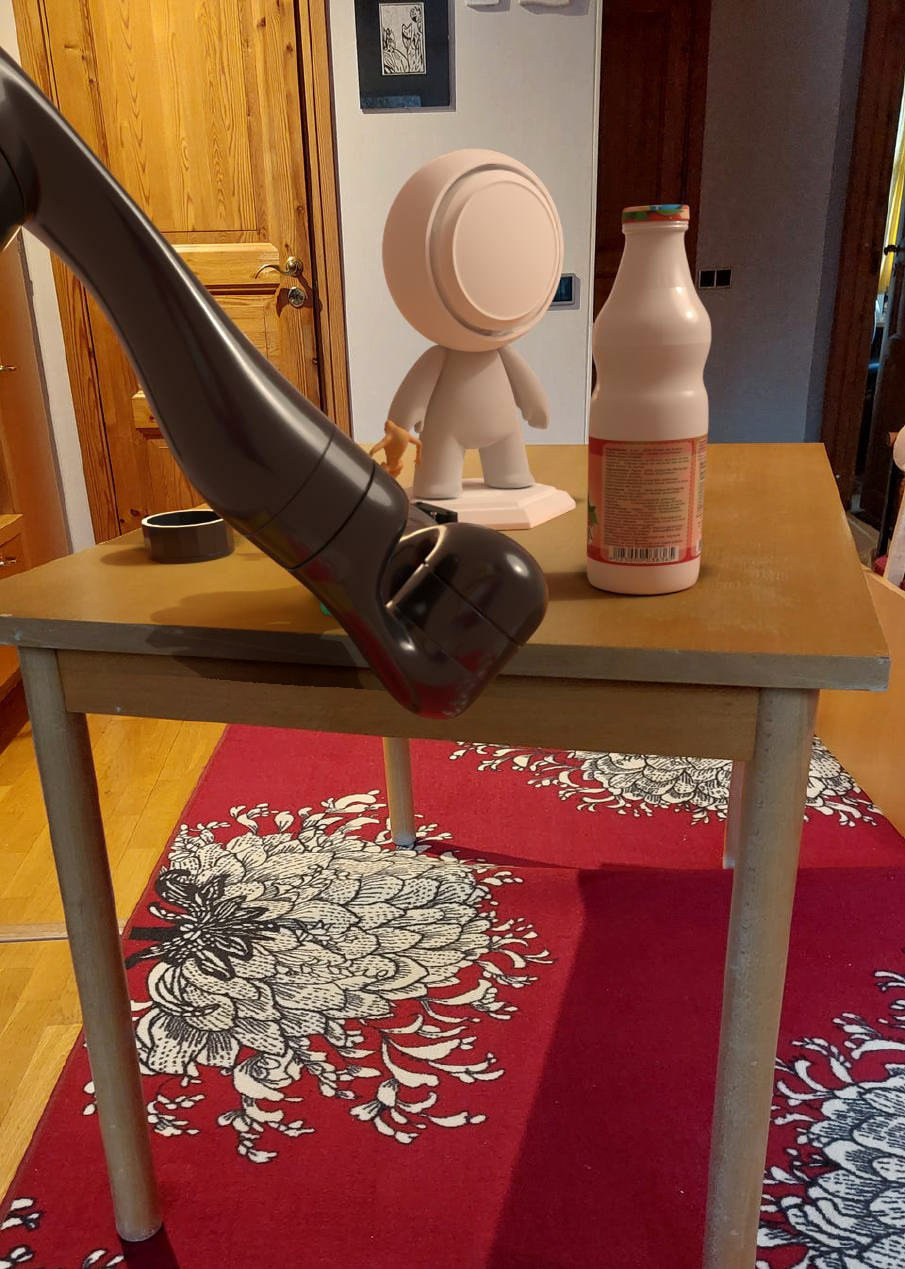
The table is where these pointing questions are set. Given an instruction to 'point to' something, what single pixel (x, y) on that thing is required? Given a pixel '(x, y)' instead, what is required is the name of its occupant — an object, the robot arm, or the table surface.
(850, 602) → the table surface
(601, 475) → the fruit juice
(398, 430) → the figurine
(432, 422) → the big headed doll
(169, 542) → the tape roll
